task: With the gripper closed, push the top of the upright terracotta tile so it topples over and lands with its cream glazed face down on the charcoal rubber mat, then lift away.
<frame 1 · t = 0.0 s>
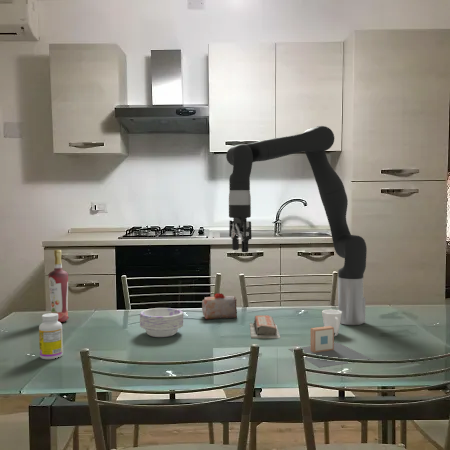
hand: (240, 251, 170), 29 cm above the table, tool pointing down, fingers open, 8 cm apart
packaged product: (264, 334, 175), on the table
paper bowls: (161, 334, 174), on the table
tile: (322, 350, 152), resting on mat
cup: (333, 336, 170), on the table
liquor: (59, 322, 193), on the table
food item: (219, 317, 198), on the table
mat: (329, 355, 149), on the table
supplement bottle: (51, 357, 150), on the table
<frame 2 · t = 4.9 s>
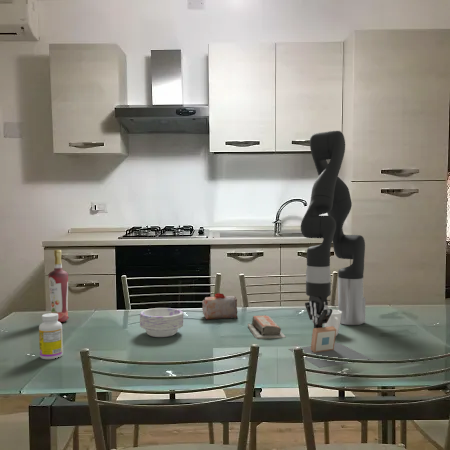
hand: (318, 335, 154), 5 cm above the table, tool pointing down, fingers closed
tile: (322, 349, 152), point 1 cm above the table, tilted 12°, touching mat
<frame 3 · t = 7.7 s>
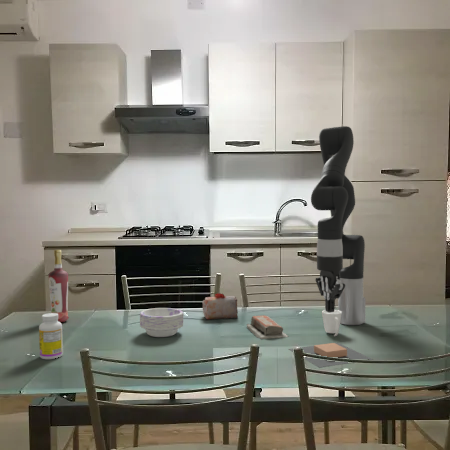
hand: (329, 311, 148), 13 cm above the table, tool pointing down, fingers closed
tile: (324, 347, 151), point 2 cm above the table, tilted 90°, touching mat
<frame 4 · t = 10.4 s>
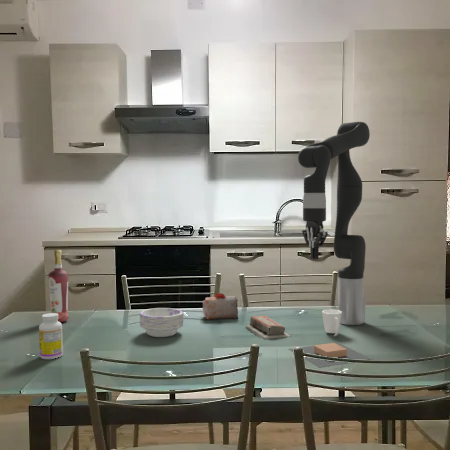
hand: (314, 258, 165), 27 cm above the table, tool pointing down, fingers closed
at the end: tile tilted 90°; tile inside the target area (2.9 cm from its centre), point 1.7 cm above the table; the gripper is holding nothing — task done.
